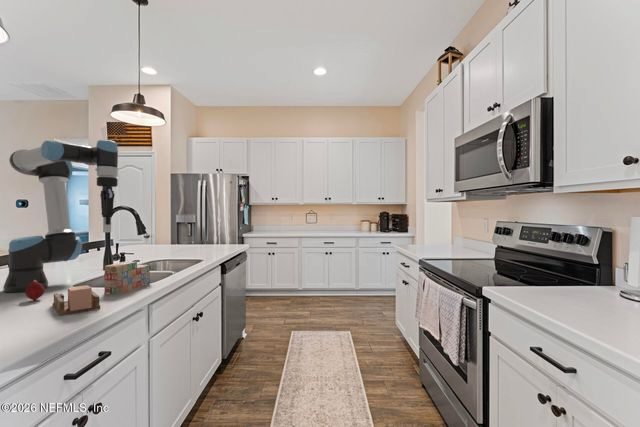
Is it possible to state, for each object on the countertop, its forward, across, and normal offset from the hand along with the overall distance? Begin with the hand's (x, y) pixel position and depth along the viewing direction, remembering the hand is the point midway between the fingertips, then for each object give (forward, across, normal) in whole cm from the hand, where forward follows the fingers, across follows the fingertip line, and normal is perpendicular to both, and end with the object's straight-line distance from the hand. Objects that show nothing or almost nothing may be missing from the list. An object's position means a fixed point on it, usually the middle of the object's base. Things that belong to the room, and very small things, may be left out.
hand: (107, 232), depth 142 cm
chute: (+26, +15, -13) cm, 33 cm away
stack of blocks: (+27, -4, +10) cm, 29 cm away
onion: (+27, -7, -23) cm, 36 cm away
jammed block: (+25, +22, -13) cm, 36 cm away
